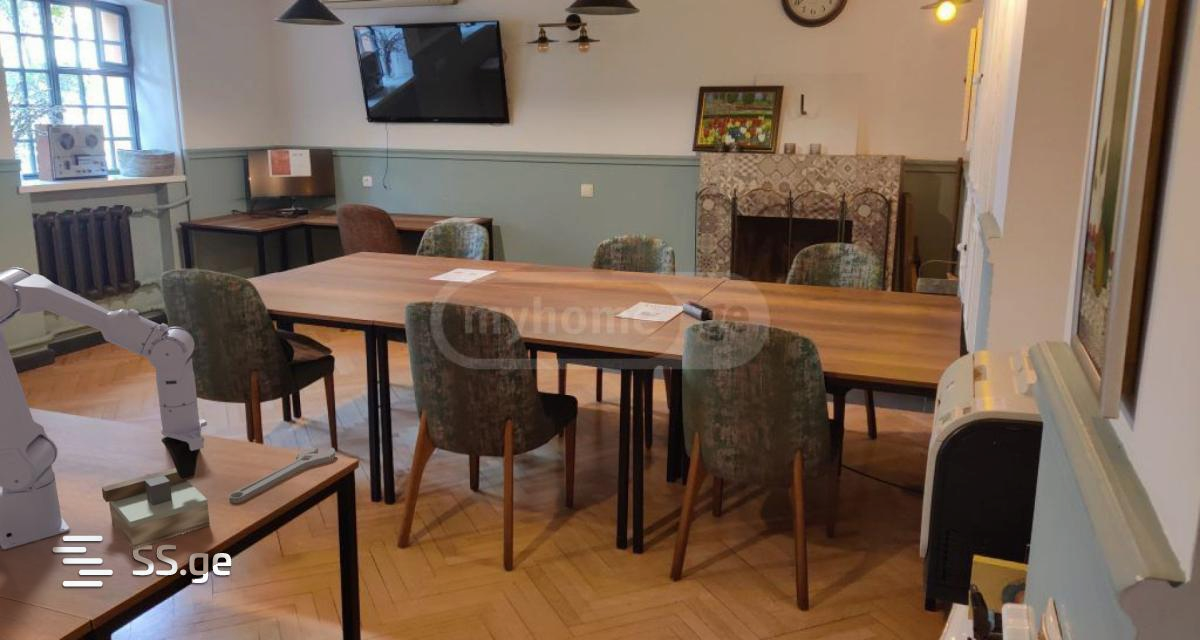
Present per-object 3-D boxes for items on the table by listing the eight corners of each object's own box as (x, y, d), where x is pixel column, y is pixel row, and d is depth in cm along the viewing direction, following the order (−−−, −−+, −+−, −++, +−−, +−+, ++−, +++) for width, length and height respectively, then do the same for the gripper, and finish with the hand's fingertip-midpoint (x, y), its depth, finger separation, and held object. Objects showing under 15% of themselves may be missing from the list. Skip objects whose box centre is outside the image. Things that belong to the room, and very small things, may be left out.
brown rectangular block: (106, 502, 144) (105, 491, 144) (103, 498, 146) (101, 487, 145) (193, 478, 153) (192, 467, 153) (189, 474, 155) (188, 464, 154)
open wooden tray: (133, 549, 140) (130, 527, 139) (111, 522, 148) (108, 501, 147) (209, 525, 148) (207, 504, 147) (185, 501, 156) (182, 481, 155)
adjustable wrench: (237, 507, 156) (236, 498, 155) (213, 498, 159) (212, 490, 158) (340, 457, 177) (340, 449, 176) (318, 451, 180) (317, 443, 179)
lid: (131, 533, 139) (127, 501, 138) (109, 507, 147) (105, 477, 146) (208, 510, 147) (205, 480, 146) (183, 486, 155) (180, 458, 154)
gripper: (219, 407, 142) (227, 483, 146) (187, 385, 152) (195, 456, 156) (173, 417, 137) (183, 495, 141) (144, 394, 147) (153, 467, 151)
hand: (186, 476), depth 148 cm, fingers closed
